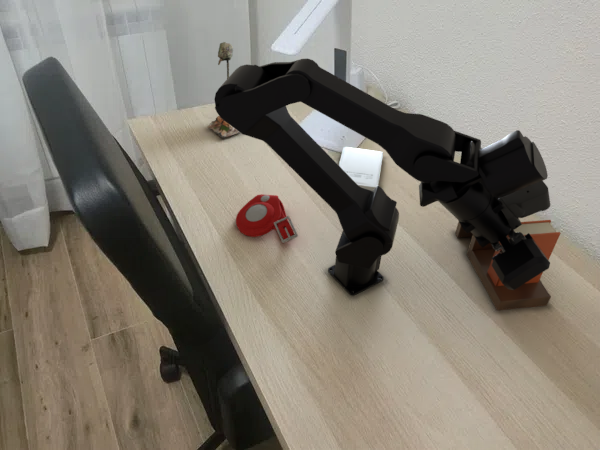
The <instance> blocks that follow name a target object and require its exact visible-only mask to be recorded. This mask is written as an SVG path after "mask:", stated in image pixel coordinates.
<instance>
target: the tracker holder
mask: <svg viewBox="0 0 600 450" xmlns="http://www.w3.org/2000/svg"><path fill="white" fill-rule="evenodd" d="M235 224H236V227H237V229H238V231H239V232H240V233H241V234H243V235H244V236H247V237H252V238H255V237H261V236H265V235H267V234H269V233H270V232H272V231H273V230H275V231H276V232H277V234H278V237H279V238H280V241H281V243H282V244H285V243H287V242H289V241H292V240H293V239H295V238H298V237H299V235H298V233H297V230H296V228H295V226H294V224H293V222H292V219H291V217H290V216H289V215H287V213H286V209H285V206H284V204H283V202H282V200H281V199H280V198H279V196H278V195H277V194H276V195H275V194H257V195H255V196H254V197H253V198H252V199H250V200H249V201H247V203H245V204H244V205H243V206H242V207H241V209H240V210H239V211H238V212H237V214H236V217H235Z"/></svg>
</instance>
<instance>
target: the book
mask: <svg viewBox="0 0 600 450" xmlns="http://www.w3.org/2000/svg"><path fill="white" fill-rule="evenodd" d="M521 223H522V225H520V226H519V227H518V228H516V229H513V230H514V231H515V232H521V233H522V234H523V235H524V236H525V235H527V234H528V233H529V234H530V235H531V237H532V238H533V240H534V241H535V242H536V244H537V245H538V246H539V248H540V249H541V250H542V252H543V253H544V255H545V256H546V257H547V259H548V260H549V261H550V258H551V256H552V253H553V251H554V249H555V247H556V245H557V242H558V240H559V238H560V236H561V235H562V234H561V232H560V231H557V230H556V229H555V228H554V227H553V225H552V224H551V223H552V220H551V219H539V220H532V221H531V220H529V221H521ZM507 237H508V239H510V238H509V236H508V235H507ZM499 243H500V241H499ZM500 245H501V243H500ZM501 250H502V249H501ZM498 253H500V250H499V251H495V253H494V256H495V255H497V254H498ZM494 256H493V257H494ZM492 263H493V260H492V261H491V264H490V267H489V269H488V274H489V276H490V277H491V279H492V281H493V283H494V285H495V286H504V285H503V284H502V282H501V281H500V279H499V277H498V276H497V274H496V272H495V270H494V269H493V267H492ZM543 273H544V272H542V273H541V274H539V275H537V276H536V277H534V278H533V279H531V280H529V281H528V282H526V283H536V282H539V280H540V281H541V278H542V275H543Z"/></svg>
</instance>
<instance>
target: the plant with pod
mask: <svg viewBox="0 0 600 450" xmlns="http://www.w3.org/2000/svg"><path fill="white" fill-rule="evenodd" d="M233 52H234V48H233V45H232V44H231V43H228V42H226V41H223V42H221V43H219V48H218V51H217V57H218V58H219V60H218V63H217V65H218V66H220V65H221V63H222V62H224V61H226V80H227V79H228V78H229V76H230V62H229V61H231V59H232V57H233ZM206 128H207V129H210V130H211V129H212V130H211V131H213V133H215V134H217V136H218V137H219V138H227V137H228V138H229V137H232V136H233V135H236V134H240V132H239V131H237V130H236V129H235V128H233V127H232V126H231V125H229V124H228V123H227V122H225V121H224V120H223V119H222V118H221V117H220V116H219V115H217V116H216V118H215V119H214V120H213V121H212V120H211V123H209V124H208V126H206Z"/></svg>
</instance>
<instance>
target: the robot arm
mask: <svg viewBox="0 0 600 450" xmlns="http://www.w3.org/2000/svg"><path fill="white" fill-rule="evenodd" d="M297 103H302V104H304V105H306V106H308V107H309V108H312V109H313V110H315V111H317V112H318V113H321V115H324V116H326V117H328V118H329V119H331V120H333V121H334V122H337V123H338V124H341V126H344V127H346V128H348V129H349V130H351V131H352V132H355V133H356V134H358V135H360V136H362V137H364V138H366V139H368V141H370V142H373V143H375V144H376V145H378V146H379V147H381V148H382V149H383V150H384V151H385V152H386V153H387V155H388V156H389V157H390V159H391V160H392V161H393V162H394V164H395V165H396V166H397V167H399V168H400V169H401V170H403V171H404V172H405V173H407V175H409V176H410V177H412V178H413V179H414V180H416V181H417V182H420V183H419V185H418V197H419V206H420V207H422V208H423V207H427V206H429V205H431V204H433V203H436V202H438V203H439V204H441V206H442V207H444V208H445V209H446V210H447V211H448V213H450V214H451V215H452V216H453V217H454V218H455V219H456V220H457V221H458V222H459V223H460V224H461V226H462V228H463V230H464V231H465V232H466V233H467V234H468V233H469V232H471V233H472V234H473V235H474V236H475V238H476V240H477V242H478V243H479V245H480V246H481V247H482V248H483V247H485V246H486V245H488V244H489V243H491V245H492V246H493V248H494V250H495V251H499V250H500V253H498V254H497V255H495V256H494V257H492V260H493V263H492V267H493V269H494V270H495V272H496V274H497V276H498V277H499V279H500V281H501V282H502V284H503V285H504V286H505V287H507V288H508V289H510V290H515V289H517V288H518V287H520V286H522V285H523V284H525V283H526V282H528V281H529V280H531V279H533V278H534V277H536V276H537V275H539V274H541V273H542V272H543V273H544V272H546V271H547V270H548V269H549V268H550V265H551V262H550V259H549V260H548V259H547V257H546V256H545V255H544V253H543V252H542V250H541V249H540V248H539V246H538V245H537V244H536V242H535V241H534V240H533V238H532V237H531V235H530V234H529V233H528V234H527V235H525V236H524V235H523V234H522V233H521V232H515V231H514V230H513V229H516V228H518V227H519V226H520V225H522V223H521V222H522V221H521V220H520V219H523V218H527V217H529V216H532V215H534V214H537V213H540V212H544V211H546V210H548V209H550V207H551V198H550V192H549V187H548V185H547V184H546V183H545V181H546V180H547V179H548V170H547V166H546V164H545V161H544V158H543V157H542V154H541V152H540V150H539V148H538V147H537V144H535V142H534V141H531V139H530V138H529V137H528V136H524V134H523V133H522V132H521V131H520V130H519V129H518V130H515V131H511V132H510V133H509V134H507V135H505V137H503V138H501V139H499V140H497V141H495V142H493V143H491V144H488V145H487V146H485V147H482V140H481V139H480V138H476V137H474V136H471V135H468V134H465V133H462V132H460V131H456V130H454V129H453V128H452V126H451V125H450V124H448V123H446V122H444V121H442V120H438V119H436V118H433V117H430V116H428V115H425V114H422V113H412V112H411V113H410V112H404V111H401V110H399V109H396V108H394V107H393V106H390V105H389V104H387V103H385V102H384V101H382V100H380V99H378V98H377V97H374V96H372V95H371V94H369V93H367V92H366V91H364V90H363V89H359V88H358V87H357V86H355V85H353V84H351V83H349V82H348V81H346V80H344V79H342V78H340V77H339V76H336V75H335V74H333V73H331V72H330V71H328V70H326V69H324V68H322V67H320V66H319V64H318V63H317V62H316V61H315V60H313V59H311V58H300V59H297V60H294V61H276V62H270V63H267V64H263V65H257V64H244V65H243V64H242V65H240V66H238V67H237V68H236V69H234V71H233V72H231V74H229V78H228V79H227V78H226V80H225V81H224V82H223V83H222V85H220V87H219V88H218V89H217V91H216V92H215V95H214V109H215V112H216V114H217V116H220V117H221V118H222V119H223V120H224V121H225V122H227V123H228V124H229V125H231V126H232V127H233V128H235V129H236V130H237V131H239V134H241V135H243V136H247V137H249V138H253V139H256V140H260V141H262V142H264V143H265V144H266V145H267V146H269V148H270V149H271V150H272V151H274V153H276V155H278V156H279V158H280V159H281V160H283V161H284V163H286V164H287V165H288V166H289V167H290V169H292V171H294V172H295V174H297V176H299V177H300V179H302V180H303V181H304V183H305V184H307V185H308V186H309V187H310V188H311V189H312V191H314V192H315V193H316V194H317V195H318V196H319V197H320V198H321V200H323V201H324V202H325V203H326V204H327V205H328V206H329V207H330V208H331V209H332V210H333V211H334V212H335V214H336V216H337V218H338V221H339V224H340V226H341V229H342V232H341V235H340V237H339V240H338V243H337V245H336V249H335V251H334V254H335V263H334V265H331V266H330V267H328V268H327V272H328V274H329V275H330V276H331V277H332V278H333V280H335V281H336V282H337V283H338V284H339V286H340V287H342V288H343V289H344V291H346V293H348V294H349V295H350V296H352V297H354V296H357V295H358V294H361V293H362V292H364V291H366V290H368V289H370V288H372V287H375V286H376V285H378V284H380V283H382V282H383V281H384V279H385V277H384V276H383V275H382V274H381V273H380V272H379V270H380V265H381V261H382V256H384V255H387V254H388V253H389V252H390V251H391V250H392V248H393V245H394V241H395V237H396V234H397V233H396V232H397V229H398V224H399V219H400V213H399V210H398V208H397V203H398V202H397V201H396V200H394V199H392V198H390V196H388V194H387V193H386V191H385V190H384V189H383V188H382V187H381V186H380V185H378V186H377V187H376V188H375V189H374V190H372V191H371V190H368V189H365V188H361V187H360V186H358V185H357V184H356V183H355V182H354V181H353V180H352V179H351V178H350V177H349V176H348V175H347V174H346V172H345V171H344V170H343V169H342V168H341V167H340V166H339V163H337V162H336V161H335V160H334V159H333V158H332V156H330V155H329V154H328V153H327V152H326V151H325V149H323V147H322V146H320V144H319V143H317V141H316V140H315V139H313V138H312V136H311V135H310V134H309V133H308V132H307V131H306V130H305V129H304V128H303V127H302V126H301V125H300V124H299V123H298V122H297V121H296V120H295V119H294V118H293V117H292V116H291V114H290V113H289V110H288V108H287V106H289V105H293V104H297ZM456 152H458V153H460V161H459V162H458V161H455V155H456ZM518 218H519V219H518ZM519 220H520V221H521V222H520V221H519ZM507 235H508V236H509V238H510V239H508V237H507ZM499 241H500V243H501V245H500V243H499ZM501 249H502V250H501ZM543 273H542V274H543Z"/></svg>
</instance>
